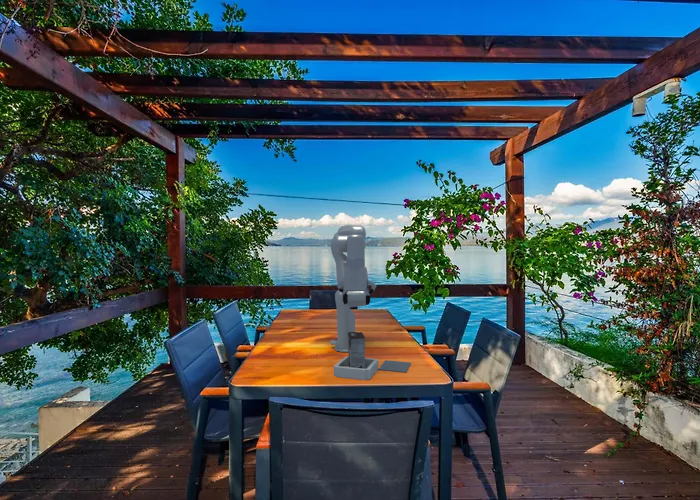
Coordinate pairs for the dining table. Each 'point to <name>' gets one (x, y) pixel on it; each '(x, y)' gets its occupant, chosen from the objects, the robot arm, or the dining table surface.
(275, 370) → the dining table surface
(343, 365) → the holder
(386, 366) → the mat
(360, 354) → the coffee box
